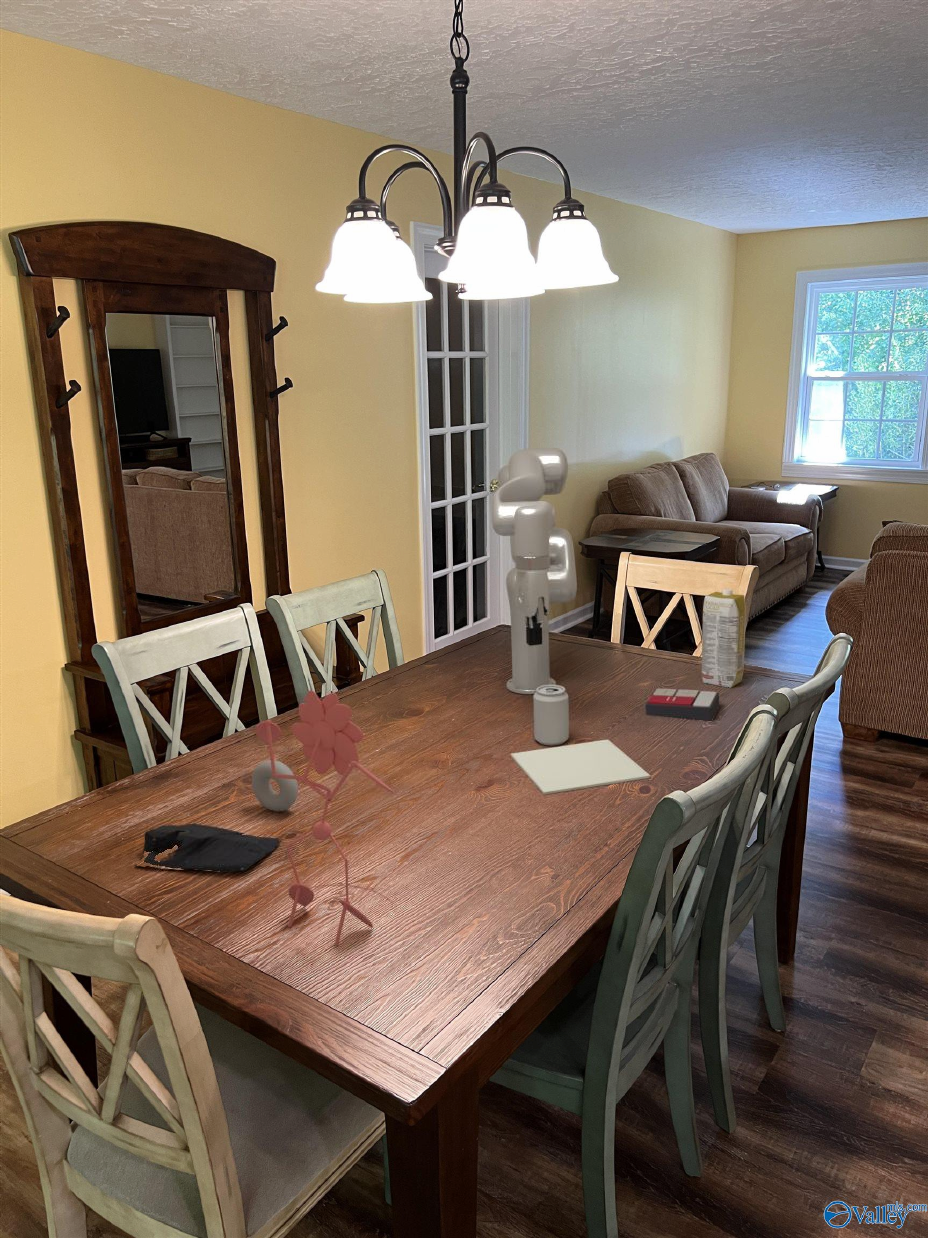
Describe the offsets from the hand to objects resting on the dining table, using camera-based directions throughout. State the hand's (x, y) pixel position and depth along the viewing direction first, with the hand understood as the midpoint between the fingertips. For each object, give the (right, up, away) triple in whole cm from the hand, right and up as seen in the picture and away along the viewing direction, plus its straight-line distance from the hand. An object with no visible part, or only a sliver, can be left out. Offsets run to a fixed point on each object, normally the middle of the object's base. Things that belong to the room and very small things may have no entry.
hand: (534, 644), depth 203 cm
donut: (-51, -30, -32) cm, 67 cm away
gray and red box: (+36, -16, +11) cm, 41 cm away
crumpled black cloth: (-59, -35, -47) cm, 83 cm away
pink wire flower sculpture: (-34, -39, -67) cm, 84 cm away
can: (+3, -21, -4) cm, 22 cm away
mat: (+7, -24, -18) cm, 31 cm away
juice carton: (+50, -11, +29) cm, 59 cm away
